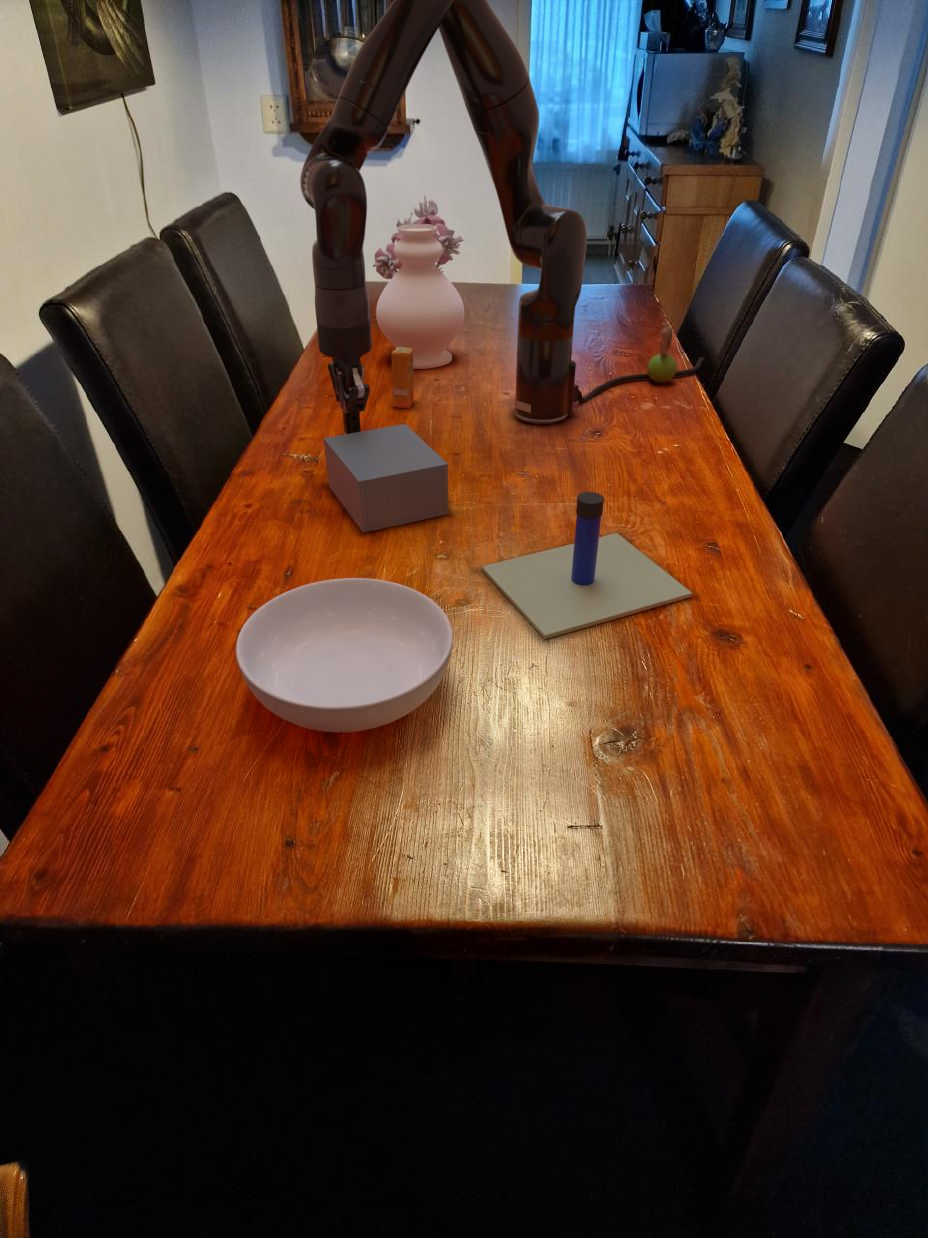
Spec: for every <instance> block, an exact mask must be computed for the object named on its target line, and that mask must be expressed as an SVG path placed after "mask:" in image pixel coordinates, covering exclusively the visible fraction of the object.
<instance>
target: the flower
mask: <svg viewBox="0 0 928 1238" xmlns="http://www.w3.org/2000/svg"><path fill="white" fill-rule="evenodd" d="M423 200H424V202H422V201H419V202H418V207H419V208H418V207H417V206H414V209H413V212H414V215H415V216H416V217H417V218H418V219H417V220H413V221H411V220H412V215H413V212H410V217H409V218H403V220H404V221H403V222H401V220H400V218H398V219H397V223H396V225H395V226H396V228H397V229H398V227H399V226H402V225H409V224H429V225H434V226H437V233H435V234H433V237H434V238H435V239H436V240H438V241H439V242H440V244H441V245H442V248H443V253H442V256H441V257H440V259H439V260H438V261H437V262H436V264H435V266H436V267H437V268H438V269H439V270H440V271H441V272H442V273H443V274H444V270H443V267H442V266H443V265H446V264H447V263H448V262H449V261H454V258H453V256H452V255H461V252H460V251H459V250H458V249H459V247H460V246H461V242H464V241H465V240H464V239H463V237H462V235H458V236H457V237H456V236H454V235H455V232H456V230H454V229H451V228H448V226H446V222H445V219H443V218H440V216H439V215H437V214H439V207H438V205H437V203H436V202H435V201H434V200H432V199H431V200H427V198H426V195H424V199H423ZM438 233H439V234H438ZM402 237H403V235H402V234H400V233H398V232H395V233H393V234H392V235H391V238H390V240H391V243H388V244H386V248H385V251H384V250H383V249H382V248H381V247H379V248H378V249H377V250H376V251H375V253H374V263H373V265H372V267H373V268H375V271H376V273H377V274H379V275H380V277H382V278H383V279H385V280H391V279H392V277H393V276H394V275H395V274H396V273H397V272H398V270H399V269H400V268H401V267H402V266H403V264H402V263H401V262H400V261H399V260H398V259H397V258H396V256H395V254H394V247H395V245H396V243H397V242H398V241H399V240H400V239H401V238H402ZM395 242H396V243H395Z"/></svg>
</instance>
